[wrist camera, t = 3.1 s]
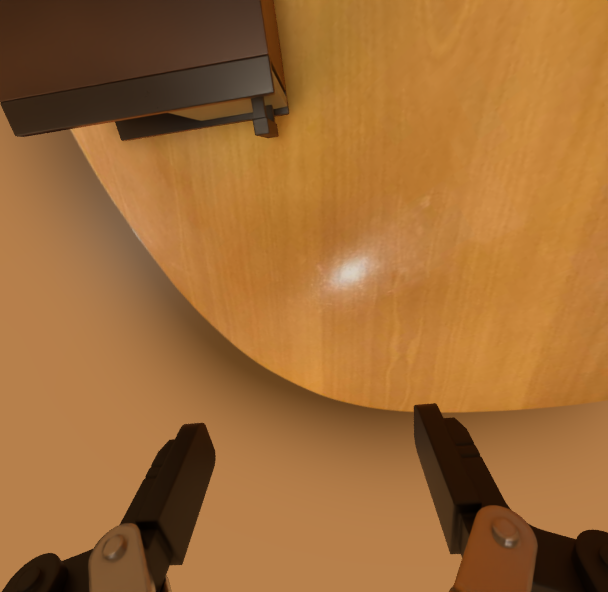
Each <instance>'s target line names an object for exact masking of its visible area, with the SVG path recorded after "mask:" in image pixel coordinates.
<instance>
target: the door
mask: <svg viewBox="0 0 608 592" xmlns="http://www.w3.org/2000/svg"><path fill="white" fill-rule="evenodd" d="M272 73H273V71H272ZM273 80H274V87H275V95H270V96H264V97H258V98H252V99H246V100H240V101H234V102H228V103H222V104H216V105H210V106H204V107H199V108H193V109H187V110H181V111H175V112H169V113H171V114H175V115H179V116H183V117H187V118H191V119H196V120H200V121H204V120H210V119H216V118H222V117H228V116H234V115H240V114H246V113H252V112H253V114H254V119H253V125H254V130H255V135H257V136H261V137H265V138H272V137H278V136H279V135H278V129H277V124H276V123H275V118H274V112H273V109H277V108H283V107H287V99H286V96H285V94H284V92H283V90H282V88H281V86H280V84H279V82H278V80H277V78H276V76H275V75H274V73H273Z"/></svg>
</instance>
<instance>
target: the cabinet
mask: <svg viewBox="0 0 608 592" xmlns="http://www.w3.org/2000/svg"><path fill="white" fill-rule="evenodd" d="M272 71H273V73H274V75H275V76H276V78H277V80H278V82H279V84H280V86H281V88H282V90H283V92H284V94H285V96H286V99H287V94H286V87H285V80H284V72H283V65H282V58H281V51H280V43H279V36H278V29H277V22H276V14H275V7H274V0H0V102H1V106H2V108H3V111H4V113H5V115H6V117H7V119H8V121H9V124H10V126H11V128H12V130H13V132H14V134H15V136H20V137H25V136H32V135H38V134H43V133H50V132H56V131H61V130H67V129H73V128H79V127H85V126H91V125H97V124H103V123H109V122H115V123H116V126H117V129H118V132H119V135H120V138H121V140H122V141H127V140H134V139H140V138H146V137H152V136H158V135H164V134H171V133H177V132H183V131H189V130H195V129H201V128H208V127H214V126H220V125H226V124H232V123H238V122H244V121H251V120H253V119H254V114H253V112H252V113H246V114H240V115H234V116H228V117H222V118H216V119H210V120H204V121H200V120H196V119H191V118H187V117H183V116H179V115H175V114H171V113H169V112H175V111H181V110H187V109H193V108H199V107H204V106H210V105H216V104H222V103H228V102H234V101H240V100H246V99H252V98H258V97H264V96H270V95H275V87H274V80H273V73H272ZM273 112H274V117H275V116H281V115H288V114H289V109H288V102H287V107H283V108H277V109H273Z"/></svg>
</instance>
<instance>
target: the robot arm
mask: <svg viewBox="0 0 608 592" xmlns="http://www.w3.org/2000/svg"><path fill="white" fill-rule="evenodd" d="M414 438H415V445H416V449H417V453H418V456H419V459H420V462H421V465H422V468H423V471H424V474H425V477H426V481H427V484H428V487H429V490H430V493H431V496H432V499H433V502H434V505H435V508H436V511H437V514H438V517H439V520H440V524H441V527H442V530H443V532H444V536H445V539H446V542H447V545H448V548H449V551H450V554H461V555H462V561H461V564H460V567H459V570H458V573H457V577H456V580H455V583H454V585H453V587H452V588H451V589H450V591H449V592H608V533H607V532H604V531H599V530H587V531H583V532H582V533H580V534H579V536H578V537H577V539H573V538H569V537H566V536H561V535H558V534H555V533H551V532H547V531H544V530H541V529H538V528H536V527H533V526H531V525H529V524H528V523H527V522H526V521H525V520H524V519H523V518H522V517H520V516H519V515H518V514H516V513H515V512H513V511H512V510H511V509H510V508H509V507H508V505H507V504H506V502H505V501H504V499H503V497H502V495H501V493H500V491H499V489H498V487H497V485H496V483H495V482H494V480H493V478H492V476H491V474H490V472H489V470H488V468H487V467H486V465H485V463H484V461H483V459H482V457H480V453H479V451H478V449H477V448H476V446H475V445H474V442H473V440H472V438H471V437H470V434H469V432H468V431H467V429H466V428H465V427H464V426H463V425H462V424H461V423H460V422H459V421H458V420H456V419H455V418H443V417H442V414H441V412H440V410H439V408H438V406H437V404H435V403H434V404H422V405H415V406H414ZM214 466H215V449H214V447H213V444H212V441H211V439H210V436H209V433H208V431H207V428H206V425H205V424H204V423H195V424H184V425H183V426H182V427H181V429H180V430H179V432H178V434H177V437H176V438H175V440H169V441H168V442H167V443H166V444H165V445H164V447H163V448H162V449H161V450H160V451H159V452H158V454H157V456H156V457H155V459H154V461H153V463H152V465H151V468H150V469H149V471H148V472H147V474H146V478H145V479H144V480H143V482H142V484H141V486H140V488H139V490H138V491H137V493H136V495H135V497H134V499H133V501H132V503H131V505H130V507H129V508H128V510H127V512H126V514H125V516H124V518H123V520H122V522H121V524H120V525H119V526H117V527H115V528H113V529H111V530H110V531H109V532H107V533H106V534H105V535H104V536H103V537H102V538H101V539H100V540H99V541H98V543H97V544H96V546H95V547H94V549H91V550H89V551H87V552H84V553H82V554H79V555H77V556H74V557H71V558H69V559H66V560H64V561H61V560H60V558H59V557H58V556H57V555H56V554H53V553H47V554H43V555H40V556H38V557H36V558H34V559H32V560H31V561H29V562H28V563H27V564H25V565H24V566H23V567H22V568H21V569H20V570H19V571H18V572H17V573H16V574H15V575H14V576H13V577H12V578H11V579H10V581H9V582H8V584H7V585H6V587H5V588H4V589H3V591H2V592H172V591H171V587H170V583H169V579H168V577H167V575H166V573H167V571H168V568H169V565H182V564H183V561H184V558H185V554H186V551H187V548H188V545H189V542H190V539H191V536H192V533H193V530H194V527H195V524H196V521H197V517H198V515H199V512H200V509H201V506H202V503H203V500H204V496H205V493H206V490H207V487H208V484H209V481H210V478H211V475H212V472H213V469H214Z"/></svg>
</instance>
